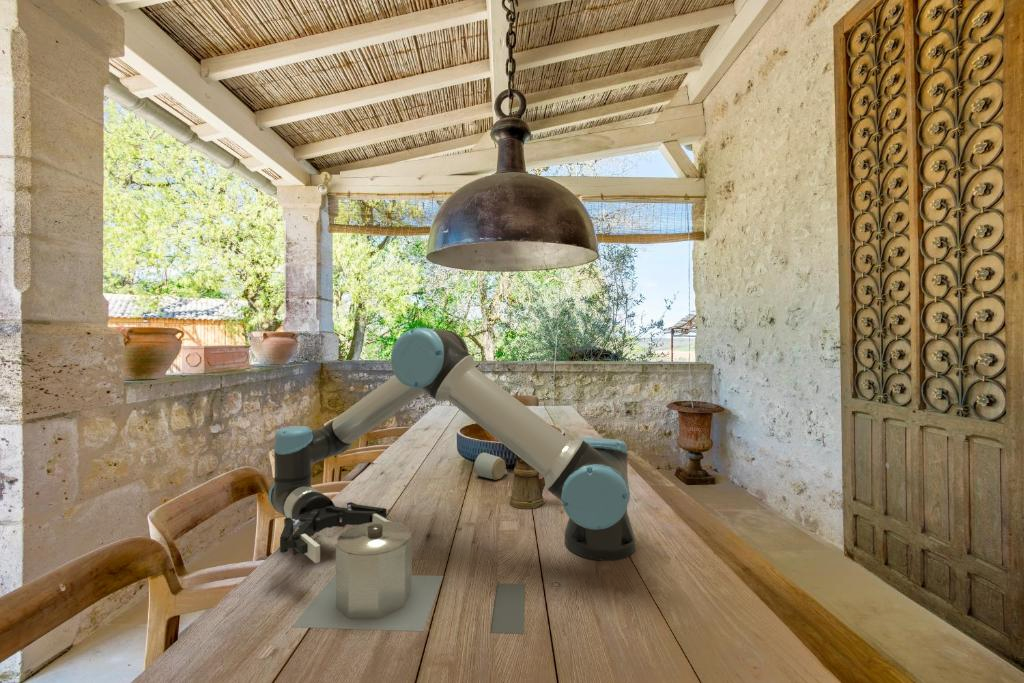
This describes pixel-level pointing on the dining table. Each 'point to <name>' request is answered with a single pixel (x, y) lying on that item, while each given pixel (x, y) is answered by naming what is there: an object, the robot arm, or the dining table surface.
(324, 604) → the serving board
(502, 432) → the robot arm
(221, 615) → the dining table surface
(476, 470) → the ceramic mug
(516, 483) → the wooden mug
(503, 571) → the dining table surface
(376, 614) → the stockpot with side handles
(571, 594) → the dining table surface
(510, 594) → the rubber mat
